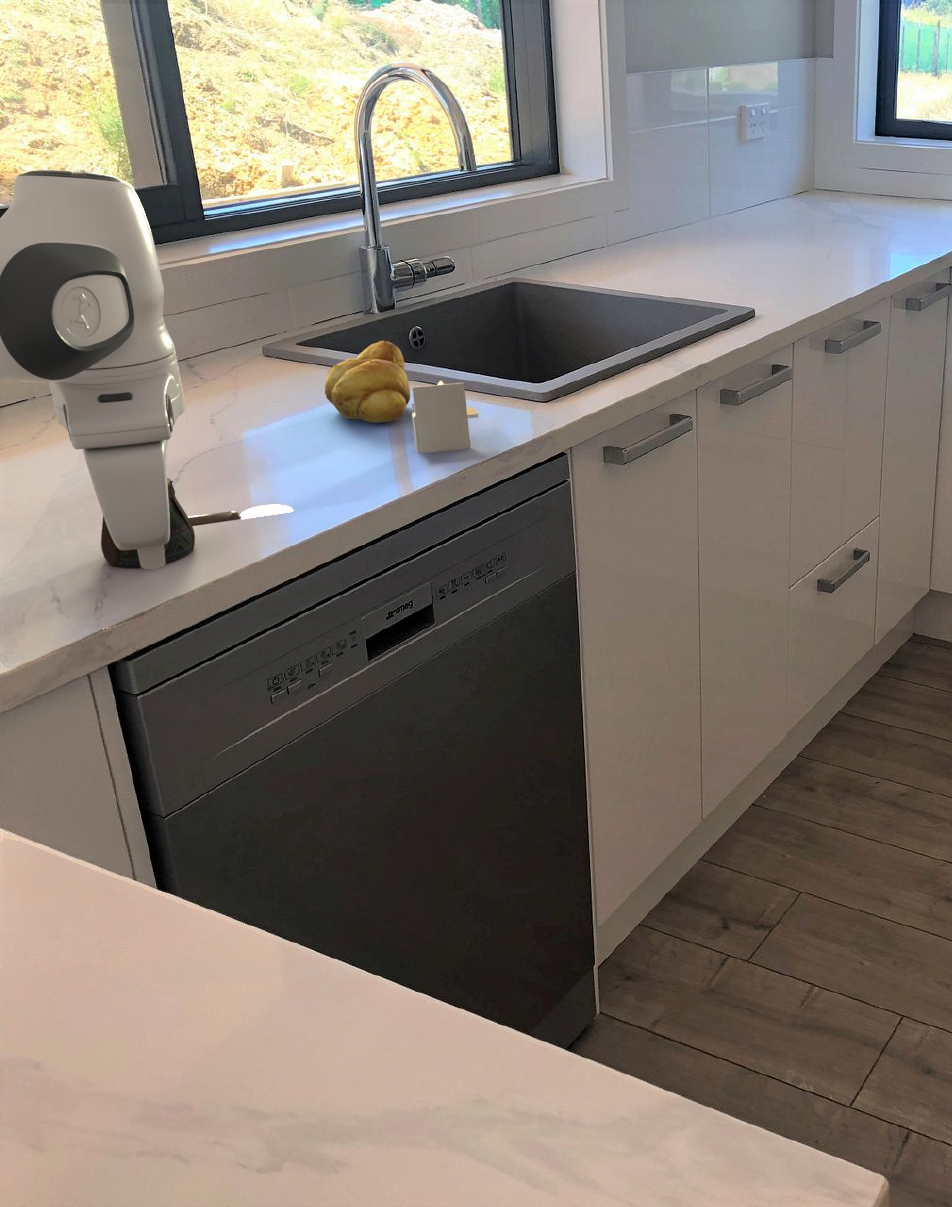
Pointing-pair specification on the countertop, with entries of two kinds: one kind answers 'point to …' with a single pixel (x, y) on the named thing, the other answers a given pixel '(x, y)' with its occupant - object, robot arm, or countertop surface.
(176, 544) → the mate gourd
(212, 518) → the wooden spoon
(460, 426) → the architectural model
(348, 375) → the bread roll
